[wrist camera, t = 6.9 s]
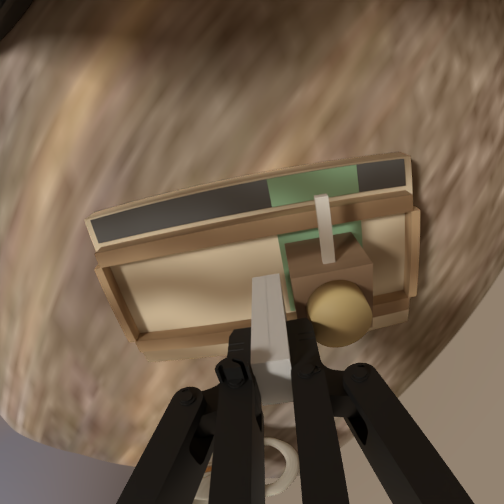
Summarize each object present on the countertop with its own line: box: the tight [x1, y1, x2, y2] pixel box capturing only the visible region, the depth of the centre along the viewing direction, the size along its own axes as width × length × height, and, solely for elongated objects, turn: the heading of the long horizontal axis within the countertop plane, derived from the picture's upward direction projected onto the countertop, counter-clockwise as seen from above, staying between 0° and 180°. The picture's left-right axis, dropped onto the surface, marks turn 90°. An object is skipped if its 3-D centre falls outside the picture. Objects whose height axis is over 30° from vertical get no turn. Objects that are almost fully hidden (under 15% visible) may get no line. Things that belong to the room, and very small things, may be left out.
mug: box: [192, 437, 300, 504], centre depth 25 cm, size 8×13×10 cm, turn 106°
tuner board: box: [84, 152, 420, 362], centre depth 20 cm, size 12×20×2 cm, turn 101°
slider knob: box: [284, 194, 373, 347], centre depth 16 cm, size 7×4×6 cm, turn 11°
